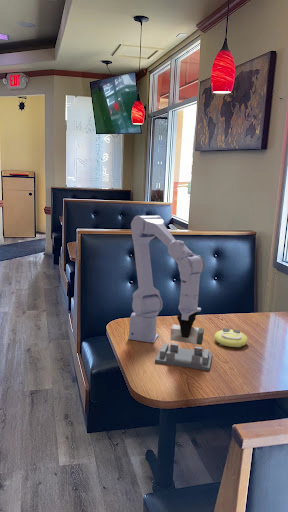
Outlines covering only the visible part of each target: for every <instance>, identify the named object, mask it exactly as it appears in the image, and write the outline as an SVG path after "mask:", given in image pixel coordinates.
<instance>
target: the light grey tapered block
mask: <svg viewBox="0 0 288 512" xmlns="http://www.w3.org/2000/svg"><path fill="white" fill-rule="evenodd" d="M204 331H205V328H203V327H194V326H192V327H191V331H190V335H189V337H188V338H184V337H182V335H181V328H180V324H175V323H174V324H172V325H171V328H170V339H169V340H170V341H172V342H177V343H184V344H185V343H186V344H192V345H193V344H194V345H198V346H199V345H200V346H203V341H204Z"/></svg>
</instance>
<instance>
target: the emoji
mask: <svg viewBox="0 0 288 512" xmlns="http://www.w3.org/2000/svg"><path fill="white" fill-rule="evenodd" d="M213 338H214V340H215V341H216V342H217V343H219V345H220V346H225V347H229V348H241V347H243V346H245V345H247V343H248V342H249V338H248V336H247V335H246V334H245V333H243V332H241V331H240V330H238V329H229V328H222V329H221V330H218V331H216V332H215V333H214V335H213Z"/></svg>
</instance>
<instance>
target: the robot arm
mask: <svg viewBox="0 0 288 512" xmlns="http://www.w3.org/2000/svg"><path fill="white" fill-rule="evenodd" d="M130 229H131V236H132V242H133V250H134V251H133V252H134V258H135V268H136V269H135V270H136V277H137V286H138V288H137V290H135V291H134V293H133V294H132V302H131V306H132V307H131V309H132V311H133V312H132V313H131V314H130V317H129V324H128V325H129V327H128V329H129V330H128V340H131V341H138V342H139V341H140V342H146V343H153V344H154V343H155V342H156V340H157V338H158V336H159V333H157V321H158V315H159V313H160V312H161V310H162V309H163V300H162V297H161V294H160V290H159V289H157V288H156V287H154V286H155V285H154V279H153V271H152V262H151V254H150V241H151V240H153V239H154V238H155V237H156V238H157V239H158V240H159V241H161V242H162V243H163V244H164V245H165V246H166V247H167V253H168V255H170V256H171V258H172V259H173V260H174V261H175V263H176V264H177V268H178V271H179V278H180V279H179V280H180V291H179V305H178V311H179V312H180V314H177V316H176V318H177V321H178V325H180V328H181V335H182V337H184V338H188V337H189V335H190V331H191V327H193V325H194V322H195V321H196V319H197V318H196V317H197V316H198V313H199V312H201V311H202V308H201V307H198V305H199V291H200V281H201V274H202V273H203V272H204V271H205V269H206V264H205V260H204V259H203V256H201V255H200V254H196V253H193V251H192V250H190V249H189V248H188V246H186V243H185V242H184V241H183V240H179V239H177V240H176V239H175V237H174V236H173V235H172V233H171V232H170V231H169V229H168V228H167V226H166V225H165V221H164V219H162V217H161V216H160V215H157V214H155V215H135V216H134V217H133V219H132V220H131V223H130Z"/></svg>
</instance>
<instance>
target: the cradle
mask: <svg viewBox="0 0 288 512" xmlns="http://www.w3.org/2000/svg"><path fill="white" fill-rule="evenodd" d="M169 344H170V346H169ZM212 359H213V352H210V349H208V348H204V351H203V346H194V348H193V349H190V348H182V347H179V343H176V342H171V343H166V342H163V345H161V347H160V349H159V351H158V353H157V355H156V357H155V359H154V363H156V364H161V365H167V366H168V365H169V366H175V367H182V368H187V369H196V370H201V371H208V372H210V368H211V363H212Z"/></svg>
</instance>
